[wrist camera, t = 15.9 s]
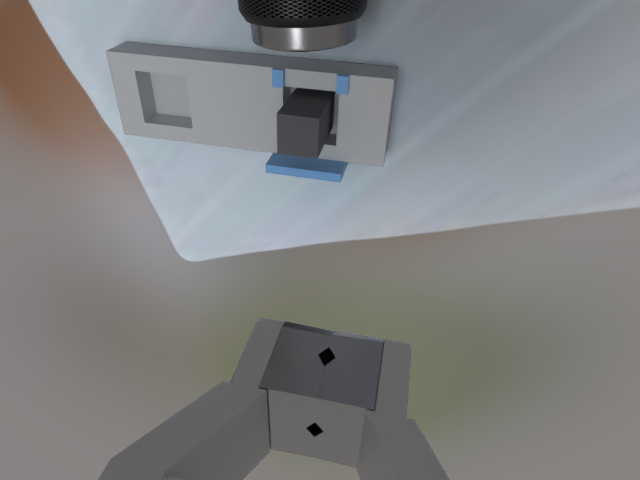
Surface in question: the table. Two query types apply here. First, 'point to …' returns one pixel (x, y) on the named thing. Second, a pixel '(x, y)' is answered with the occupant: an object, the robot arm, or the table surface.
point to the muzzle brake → (302, 23)
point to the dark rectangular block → (305, 122)
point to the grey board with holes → (251, 102)
